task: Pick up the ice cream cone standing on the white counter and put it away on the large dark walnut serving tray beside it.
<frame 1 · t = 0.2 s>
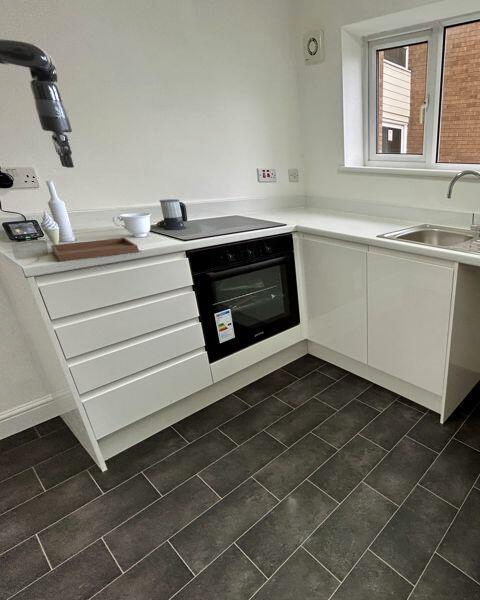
hand: (68, 167, 124), 32 cm above the countertop, tool pointing down, fingers open, 8 cm apart
teacup: (136, 236, 167), on the countertop
ice cream cone: (57, 249, 141), on the countertop
milk frother: (170, 227, 190), on the countertop
bottle: (68, 241, 154), on the countertop
serving tray: (96, 251, 138), on the countertop
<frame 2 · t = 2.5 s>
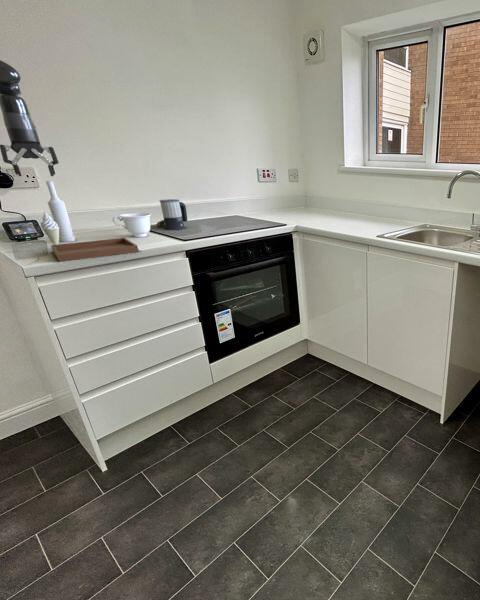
hand: (36, 176, 130), 28 cm above the countertop, tool pointing down, fingers open, 8 cm apart
nothing on the countertop moved.
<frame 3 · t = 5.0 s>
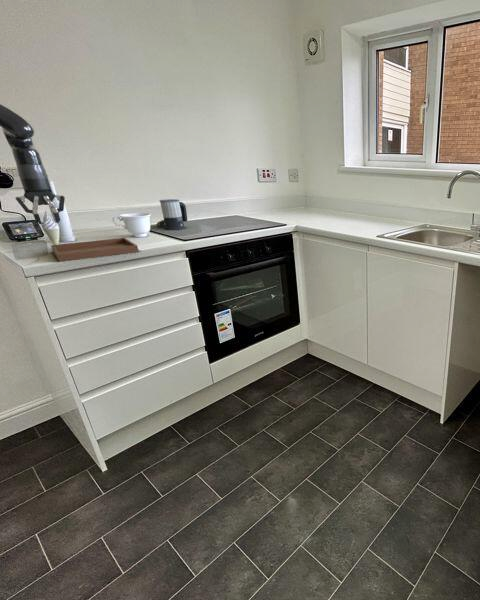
hand: (48, 223, 137), 10 cm above the countertop, tool pointing down, fingers closed on ice cream cone, 4 cm apart
ice cream cone: (57, 249, 141), on the countertop, touching gripper
everything else where it was.
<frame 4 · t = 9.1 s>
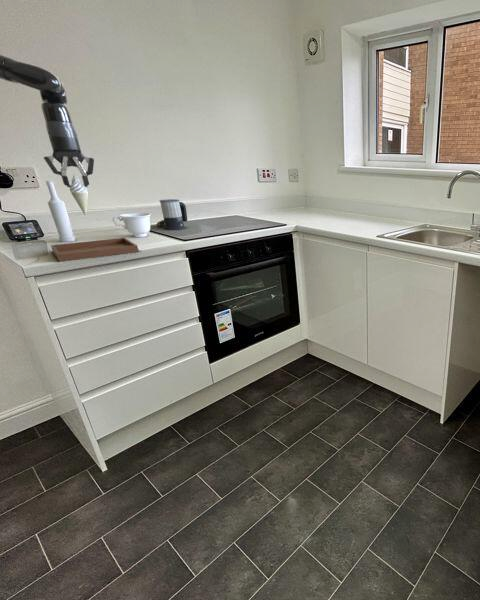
hand: (77, 186, 129), 25 cm above the countertop, tool pointing down, fingers closed on ice cream cone, 4 cm apart
ice cream cone: (85, 215, 133), point 14 cm above the countertop, touching gripper
everything else where it was.
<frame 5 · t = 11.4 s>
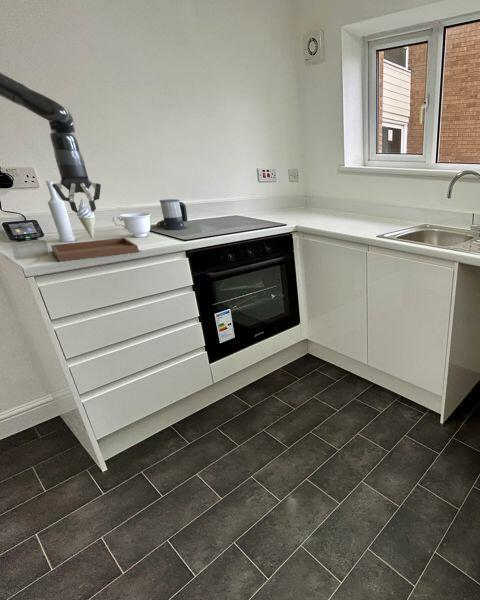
hand: (84, 211, 133), 16 cm above the countertop, tool pointing down, fingers closed on ice cream cone, 4 cm apart
ice cream cone: (92, 238, 137), point 5 cm above the countertop, touching gripper
everything else where it was.
when the fingers open (11 cm above the countertop, at t = 13.1 s): ice cream cone stays where it is, resting on serving tray.
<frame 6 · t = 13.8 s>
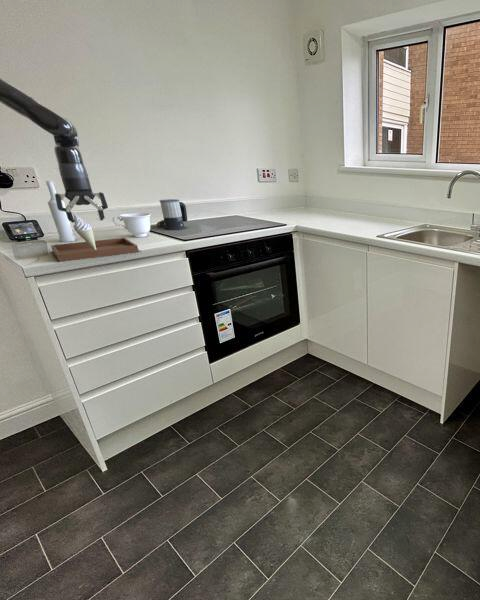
hand: (87, 221, 134), 12 cm above the countertop, tool pointing down, fingers open, 8 cm apart
ice cream cone: (95, 250, 138), resting on serving tray
everything else where it was.
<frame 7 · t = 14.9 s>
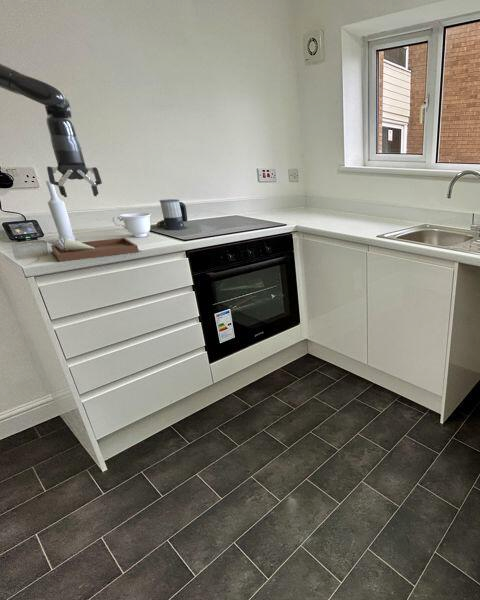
hand: (80, 196, 131), 21 cm above the countertop, tool pointing down, fingers open, 8 cm apart
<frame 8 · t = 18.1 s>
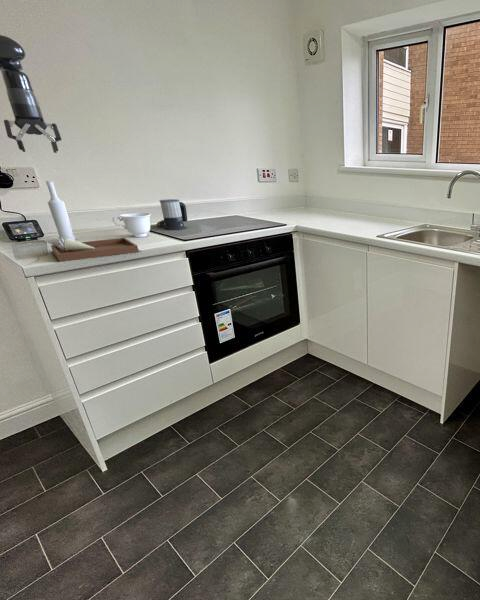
hand: (40, 152, 132), 36 cm above the countertop, tool pointing down, fingers open, 8 cm apart
at the end: ice cream cone inside the target area on the serving tray (0.5 cm from its centre), point 1.3 cm above the serving tray's base; the gripper is holding nothing; ice cream cone moved 17.5 cm from its start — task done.
